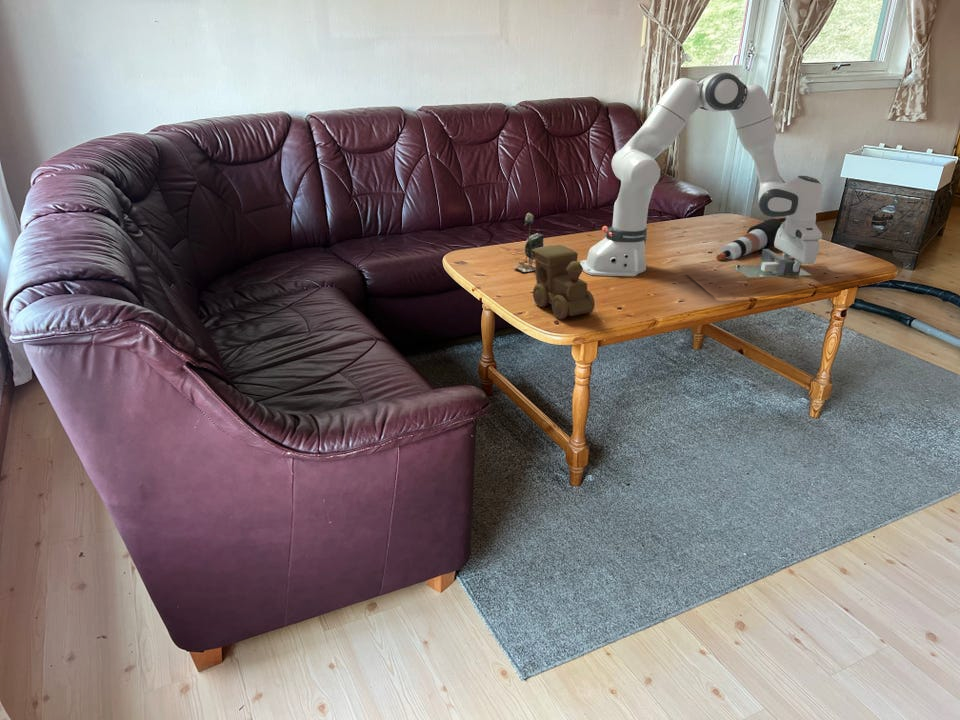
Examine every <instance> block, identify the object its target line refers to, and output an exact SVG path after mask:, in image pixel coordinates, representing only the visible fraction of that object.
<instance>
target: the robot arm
mask: <svg viewBox="0 0 960 720" xmlns="http://www.w3.org/2000/svg"><path fill="white" fill-rule="evenodd" d="M698 109H700V110H705V111H710V112H714V113H715V112H722V111H723V112H724V111H728V112H729V113H730V114H731V116H732V119H733V121H734V125H735V129H736V133H737V136H738V139H739V140H740V143H741V145H742V146H743V148H744V149H745V150H746V151H747V152H748V153H749V155H750V156H751V158H752V160H753V162H754V166H755V170H756V173H757V177H758V184H759V185H758V190H757V193H756V194H757V195H756V196H757V202H758V206H759V210H760V211H761V213H762V214H764V215H765V216H767V217H771V218H776V217H777V218H778V217H779V218H780V217H785V220H784V221H783V222H782V224H781V226H780V228H779V229H778V231H777V234H776V237H775V241H774V248H776V249H778V250H779V251H780V252H781V251H782V257H783V258H790V257H791V258H795V264H794V265H792V268H791V270H792V271H794V272H798V270H799V267H800V265H801V266H802V264H804V265H810V264H814V263H815V262H816V260H817V257H818V253H819V249H820V241H821V239H822V238H823V232H822V231H821V230H820V229H819V228H818V226H817V224H816V220H817V215H816V214H817V211H818V209H819V207H820V204H821V197H822V189H823V188H822V187H823V186H822V184H821V182H820V181H819V180H818V179H817V178H815V177H811V176H808V175H798V176H796V177H794V178H793V179H791V180H788V181H784V179H783V178H782V177H781V176H780V173H779V168H778V166H777V165H778V164H777V161H776V158H775V157H776V156H775V153H774V149H775V148H774V147H775V146H774V145H775V142H776V137H777V136H776V133H777V132H776V122H775V118H774V114H773V113H774V112H773V110H772V106H771V103H770V100H769V98H768V96H767V94H766V92H765V90H764V88H763V87H762V86H761V85H759V84H755V83H754V84H747V85H746V84H744V83H743V81H741V80H740V79H739V78H738V76H736V75H735V74H733V73H730V72H715V73H712V74H709V75H707V76H704V77H702V78H701V79H699V80H698V81H694V80H693V79H691V78H689V77H680V78H678V79H676V80H675V81H674V83H672V84H671V85H670V86H669V88H667V90H666V91H665V92H664V93H663V95H662V96H661V98H660V99H659V100H658V102H657V104H656V105H655V106H654V108H653V109H652V110H651V112H650V114H649V115H648V117H647V118H646V119H645V121H644V123H643V124H642V126H641V127H640V128H639V129H638V130H637V131H636V133H634V135H633V136H632V137H631V138H630V139H629V140H628V141H627V142H626V143H625V145H624V146H623V147H622V148H621V149H619V150H617V151H616V152H615V153H614V155H613V157H612V159H611V169H612V172H613V174H614V175H615V177H616V178H617V179H618V180H619V181H620V188H619V192H618V194H617V199H616V200H615V202H614V205H613V213H612V215H613V216H612V225H611V226H609V227H608V226H607V225H604V226H602V228H601V230H602V232H603V233H604V234H605V237H603V238H602V239H601V240H600V241H598V242H597V243H595V244H594V245H592V246H591V247H590V248H589V250H588V252H587V257H586V259H584V260H580V261H579V262H580V264H581V266H582V267H583V271H582V272H584V273H586V274H588V275H590V276H606V277H607V276H611V277H636V276H638V274H642V273H644V272H646V270H647V263H646V257H645V255H646V254H645V249H646V248H645V246H646V244H647V243H646V241H647V239H648V238H647V236H648V228H647V221H648V212H649V206H650V205H649V204H650V201H651V199H652V195H653V192H654V188H655V186H656V185H657V184H658V182H659V180H660V178H661V168H660V165H659V164H658V162H657V161H656V159H657V158H658V157H659V156H660V154H662V153H663V152H664V151H665V150H666V149H668V148H670V147H671V146H672V145H673V144H674V142H675V140H676V139H677V138H678V136H679V135H680V133H681V132H682V130H683V129H684V128H685V126H686V124H687V123H688V121H689V120H690V118H691V116H692V115H693V114H694V113H695V112H696V111H697V110H698Z"/></svg>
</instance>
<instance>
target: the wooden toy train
mask: <svg viewBox="0 0 960 720" xmlns="http://www.w3.org/2000/svg"><path fill="white" fill-rule="evenodd" d="M578 257H579V256H578V252H576V251H575V250H573V249H571V248H569V247H567V246H564V245H562V244H555V245H554V244H553V245H552V244H551V245H546V246H545V245H543V247H539V248H535V249H532V258H533V259H534V260H533V261H534V262H535V264H534V266H535V281H536V284H534V287H533V290H532V298H533V300H534V303H535V305H537V307H540V308H544V307H546V306H547V305H548V303H549V304H550V305H551V309H552V313H553V314H554V316H555V317H556V318H557V319H560V320H565V319H566V318H567V317H568V316H570V317H574V316H577V315H582V314H585V315H588V314H591V313H592V312H594V309H595V305H596V303H595V298H594V296H593V294H592V292H590V290H588V283H587V282H586V281H584V280H583V279H580V278H579V277H581V274H582V272H584V271H583V267H582V266H581V264H580V262H581V261H578Z"/></svg>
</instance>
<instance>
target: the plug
mask: <svg viewBox="0 0 960 720" xmlns="http://www.w3.org/2000/svg"><path fill="white" fill-rule="evenodd" d="M784 259H786V264H785V269H784V273H785V274H795V273H800V268H801V269H802V264H801V265H800V267H799V270H798V272H794V271H792V270H791V268H792V265H794V264H795V258H793V257H791V258H784ZM777 264H778V261H774V262H762V265H761V270H763V271H764V272H765V271H776V269H777Z"/></svg>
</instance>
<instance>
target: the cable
mask: <svg viewBox="0 0 960 720" xmlns="http://www.w3.org/2000/svg"><path fill="white" fill-rule="evenodd" d="M782 223H783V222H782V221H781V220H780V219H778V218H769V219H767V220H764V221H762V222H760V223H757V224H756V225H753V226H751V227H750V228H749V229H748V230H747V231H746V233H745V234H743V235H741V236H739V237H738V238H736V239H733V240H732V241H731V242H729V243H727V244H725V245H723V246H722V247H721V248H720V253H719V254H716V257H715V258H716V260H717V261H722V260H724V259H729V260H732V261H733V260H736V259H738V258H741V257H744V256H746V255H750V254H751V253H755V252H757V251H758V253H762V250H763V249H769V250H771V249H772V248H773V247H774V248H775V246H774V241H775V237H776V234H777V231H778V229H779V228H780V226H781V224H782Z"/></svg>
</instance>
